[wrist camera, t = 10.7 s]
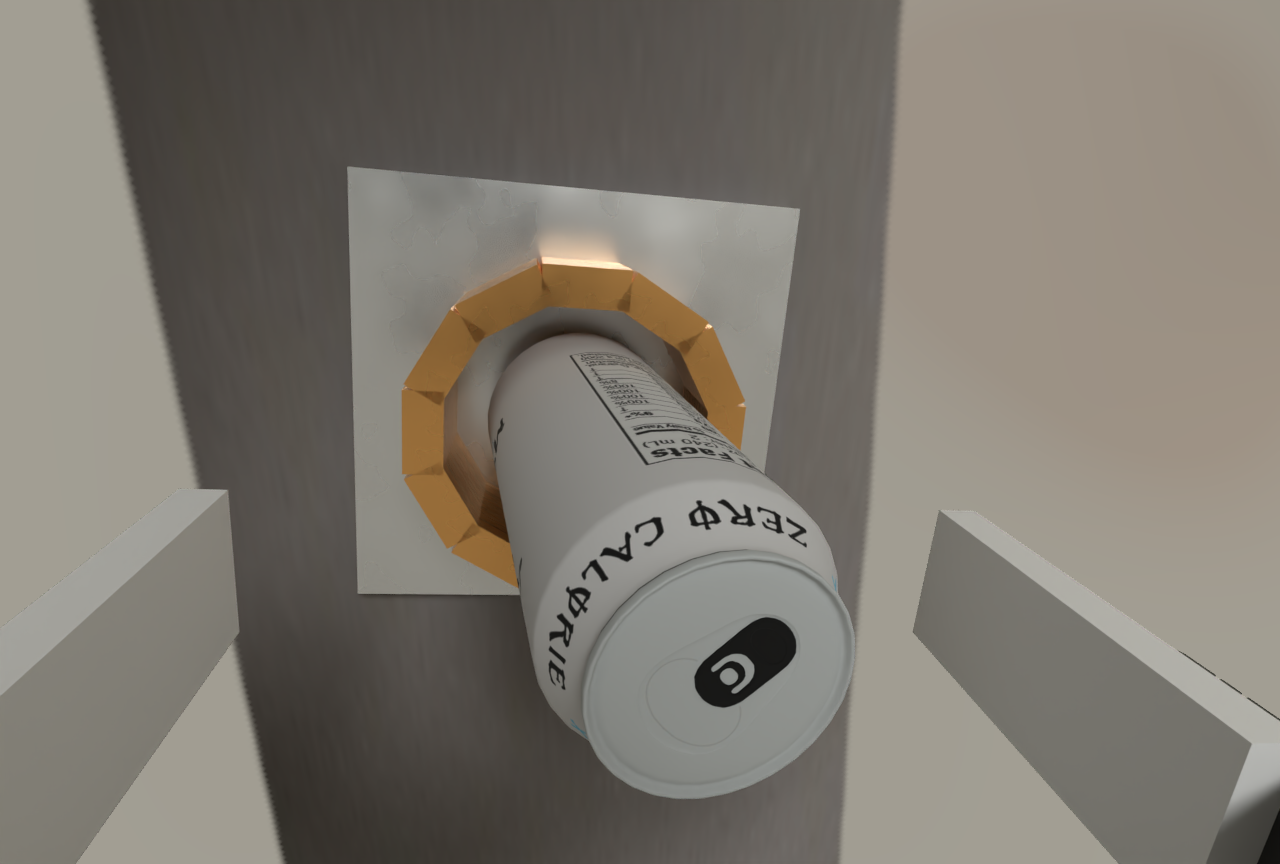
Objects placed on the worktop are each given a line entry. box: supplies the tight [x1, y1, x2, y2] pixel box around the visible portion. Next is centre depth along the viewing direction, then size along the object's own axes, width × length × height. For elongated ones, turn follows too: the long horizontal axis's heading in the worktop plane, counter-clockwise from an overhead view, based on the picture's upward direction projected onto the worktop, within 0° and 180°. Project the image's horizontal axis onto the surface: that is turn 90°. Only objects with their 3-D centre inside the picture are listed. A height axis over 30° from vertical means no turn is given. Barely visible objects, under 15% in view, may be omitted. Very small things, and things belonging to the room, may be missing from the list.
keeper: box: [347, 167, 800, 595], centre depth 25 cm, size 15×15×5 cm
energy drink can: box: [488, 333, 855, 799], centre depth 19 cm, size 6×6×15 cm
